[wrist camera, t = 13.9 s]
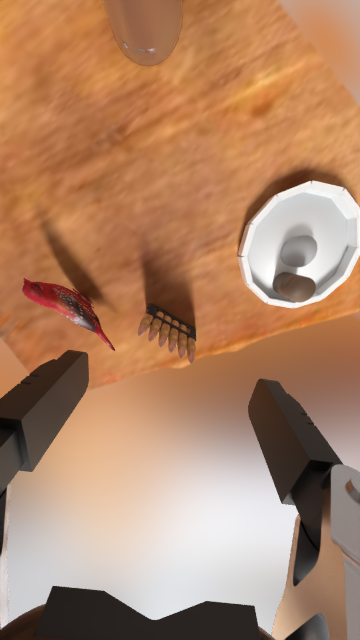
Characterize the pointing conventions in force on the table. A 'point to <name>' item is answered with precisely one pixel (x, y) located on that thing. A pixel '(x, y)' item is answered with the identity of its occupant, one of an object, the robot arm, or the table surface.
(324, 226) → the ring tray
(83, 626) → the robot arm
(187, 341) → the ammunition clip
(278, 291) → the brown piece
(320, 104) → the table surface
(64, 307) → the decorative bird figurine
